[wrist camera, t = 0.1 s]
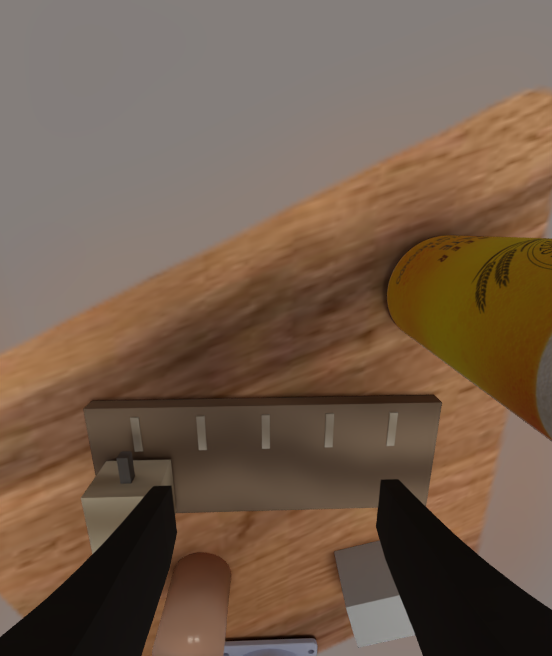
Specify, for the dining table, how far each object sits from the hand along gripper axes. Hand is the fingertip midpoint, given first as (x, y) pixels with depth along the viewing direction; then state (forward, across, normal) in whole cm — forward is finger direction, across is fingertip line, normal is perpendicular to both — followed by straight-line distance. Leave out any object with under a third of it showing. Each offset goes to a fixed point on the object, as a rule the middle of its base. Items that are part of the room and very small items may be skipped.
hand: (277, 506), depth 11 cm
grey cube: (+10, -7, +16) cm, 20 cm away
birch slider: (+9, +8, +6) cm, 13 cm away
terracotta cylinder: (+10, +6, +16) cm, 20 cm away
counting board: (+10, 0, +5) cm, 11 cm away
